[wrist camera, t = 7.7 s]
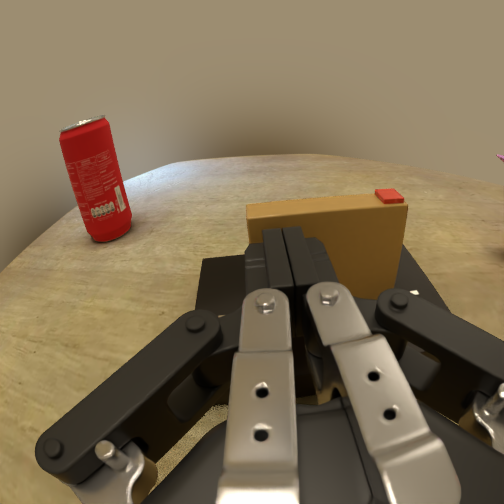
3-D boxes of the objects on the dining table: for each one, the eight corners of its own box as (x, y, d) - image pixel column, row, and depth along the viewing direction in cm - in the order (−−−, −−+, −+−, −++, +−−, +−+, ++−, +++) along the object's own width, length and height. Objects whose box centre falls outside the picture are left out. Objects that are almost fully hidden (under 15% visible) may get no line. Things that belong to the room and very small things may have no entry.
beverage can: (84, 247, 29) (48, 135, 22) (97, 224, 33) (69, 124, 27) (129, 239, 29) (97, 119, 23) (138, 216, 33) (113, 111, 27)
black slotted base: (193, 433, 13) (180, 412, 12) (207, 281, 22) (202, 256, 21) (466, 385, 12) (482, 360, 11) (394, 260, 22) (398, 235, 21)
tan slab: (259, 325, 16) (245, 212, 12) (257, 306, 17) (244, 198, 13) (389, 307, 15) (409, 199, 12) (381, 290, 17) (396, 186, 13)
